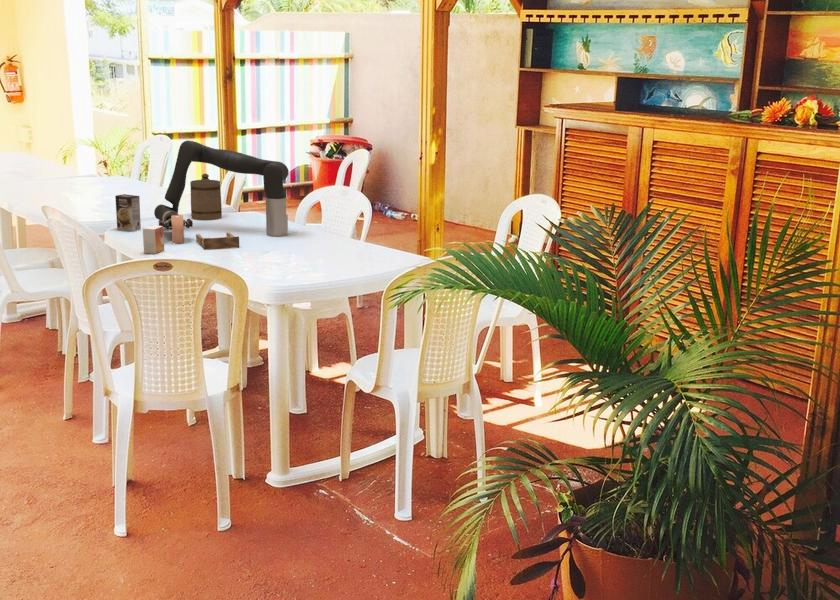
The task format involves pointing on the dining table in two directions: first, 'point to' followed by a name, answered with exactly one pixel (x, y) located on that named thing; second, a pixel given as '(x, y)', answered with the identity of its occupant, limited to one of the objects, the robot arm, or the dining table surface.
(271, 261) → the dining table surface
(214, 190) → the wooden container
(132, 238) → the dining table surface
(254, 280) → the dining table surface
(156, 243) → the small box
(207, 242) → the keyhole track
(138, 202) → the coffee box
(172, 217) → the salmon orange cylinder
